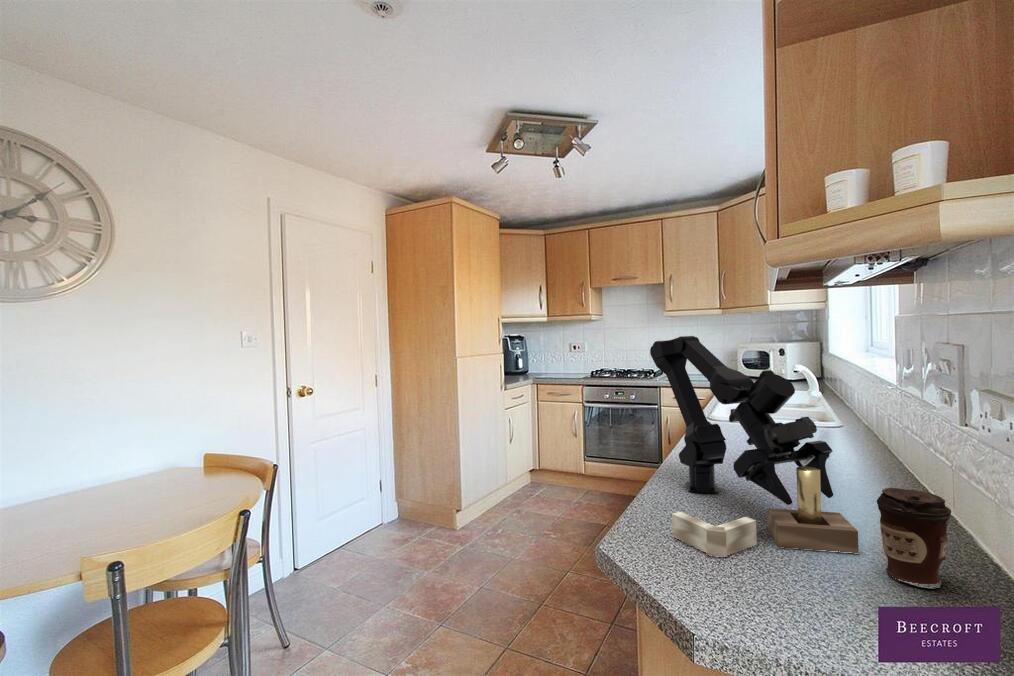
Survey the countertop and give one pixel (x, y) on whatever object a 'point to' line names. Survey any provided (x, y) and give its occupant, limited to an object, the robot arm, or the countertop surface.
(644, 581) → the countertop surface
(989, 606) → the countertop surface
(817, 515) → the axle
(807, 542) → the bore block
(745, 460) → the robot arm
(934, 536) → the coffee cup
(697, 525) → the v block
